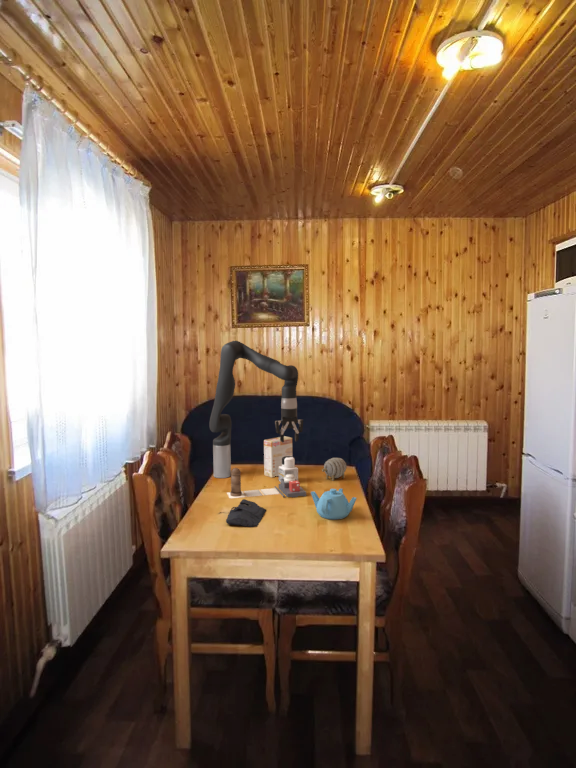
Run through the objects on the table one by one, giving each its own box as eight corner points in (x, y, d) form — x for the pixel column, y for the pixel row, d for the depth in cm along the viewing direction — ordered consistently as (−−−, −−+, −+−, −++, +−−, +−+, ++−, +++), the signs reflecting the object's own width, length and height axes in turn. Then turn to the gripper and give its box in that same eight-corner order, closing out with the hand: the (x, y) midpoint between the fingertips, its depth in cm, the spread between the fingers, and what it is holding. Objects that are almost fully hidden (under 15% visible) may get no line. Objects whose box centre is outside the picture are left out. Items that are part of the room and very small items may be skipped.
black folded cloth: (219, 527, 189) (219, 515, 188) (233, 508, 211) (232, 497, 210) (258, 529, 187) (258, 517, 187) (267, 509, 209) (267, 499, 208)
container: (278, 480, 251) (278, 456, 249) (291, 478, 254) (291, 454, 253) (284, 484, 244) (284, 459, 242) (298, 482, 247) (298, 457, 246)
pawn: (229, 493, 226) (229, 467, 225) (240, 492, 227) (240, 466, 226) (231, 496, 221) (230, 469, 220) (242, 495, 222) (242, 468, 221)
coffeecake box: (284, 470, 271) (284, 435, 270) (293, 472, 266) (293, 437, 264) (263, 475, 262) (263, 439, 260) (271, 477, 256) (271, 441, 255)
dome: (282, 481, 237) (282, 474, 237) (293, 480, 239) (293, 473, 238) (285, 485, 232) (285, 477, 231) (296, 484, 233) (296, 476, 233)
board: (222, 493, 231) (222, 490, 230) (275, 488, 238) (275, 485, 238) (228, 503, 215) (228, 501, 215) (284, 498, 222) (284, 495, 222)
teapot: (309, 510, 206) (309, 485, 205) (341, 506, 211) (341, 482, 210) (322, 523, 192) (322, 496, 191) (357, 518, 196) (357, 492, 195)
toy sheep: (352, 477, 255) (352, 457, 254) (331, 484, 244) (331, 462, 243) (337, 473, 263) (337, 453, 262) (316, 480, 251) (316, 459, 251)
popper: (278, 488, 238) (278, 475, 237) (296, 486, 240) (296, 474, 240) (287, 497, 223) (287, 485, 222) (306, 496, 225) (306, 483, 225)
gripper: (301, 405, 237) (301, 439, 239) (272, 406, 234) (272, 441, 235) (305, 407, 230) (305, 442, 232) (276, 408, 226) (276, 444, 228)
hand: (289, 441), depth 233 cm, fingers open, 6 cm apart
